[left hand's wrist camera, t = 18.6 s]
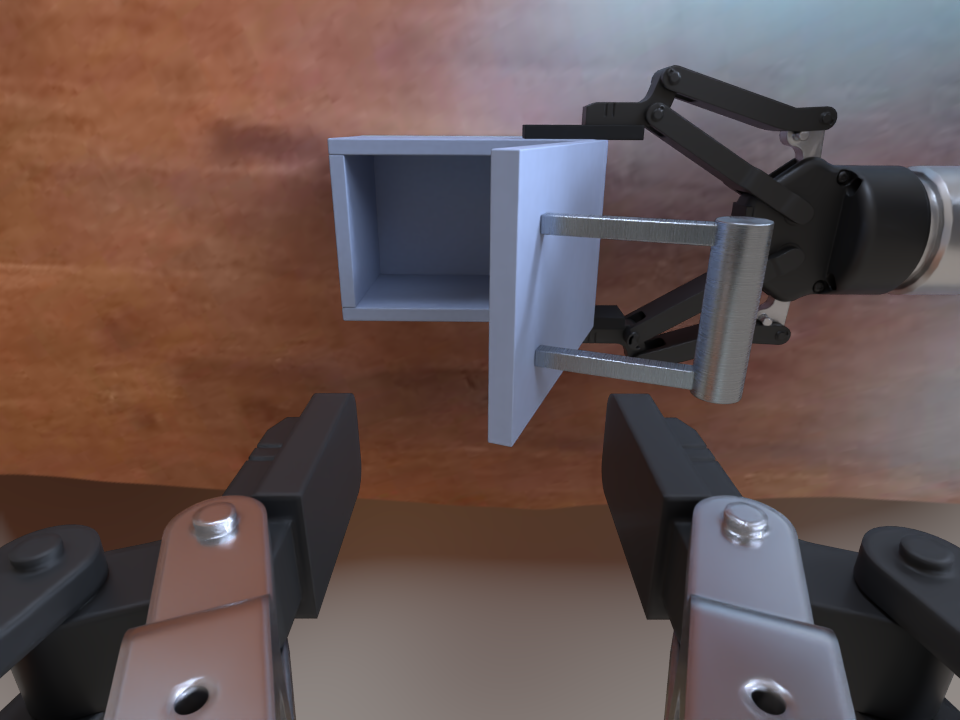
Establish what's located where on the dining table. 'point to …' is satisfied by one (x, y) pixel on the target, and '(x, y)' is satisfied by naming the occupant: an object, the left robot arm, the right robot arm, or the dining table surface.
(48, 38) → the dining table surface
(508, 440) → the grey box lid
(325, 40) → the dining table surface
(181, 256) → the dining table surface
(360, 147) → the chest
